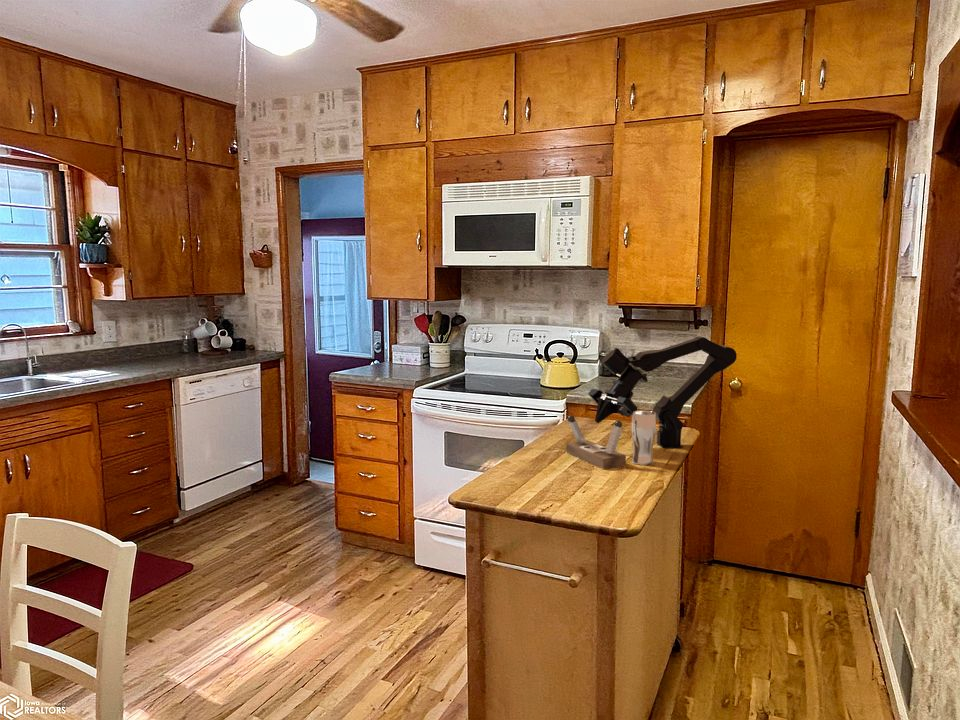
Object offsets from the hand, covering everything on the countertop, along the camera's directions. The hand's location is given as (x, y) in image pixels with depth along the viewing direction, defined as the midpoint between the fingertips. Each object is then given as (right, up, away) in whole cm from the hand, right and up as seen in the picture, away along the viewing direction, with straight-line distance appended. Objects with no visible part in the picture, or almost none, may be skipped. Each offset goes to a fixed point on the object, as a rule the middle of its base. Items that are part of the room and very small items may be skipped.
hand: (596, 422), depth 203 cm
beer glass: (+12, -11, -11) cm, 19 cm away
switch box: (-2, -10, -7) cm, 13 cm away
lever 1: (-5, -6, -1) cm, 8 cm away
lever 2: (+1, -8, -14) cm, 16 cm away
